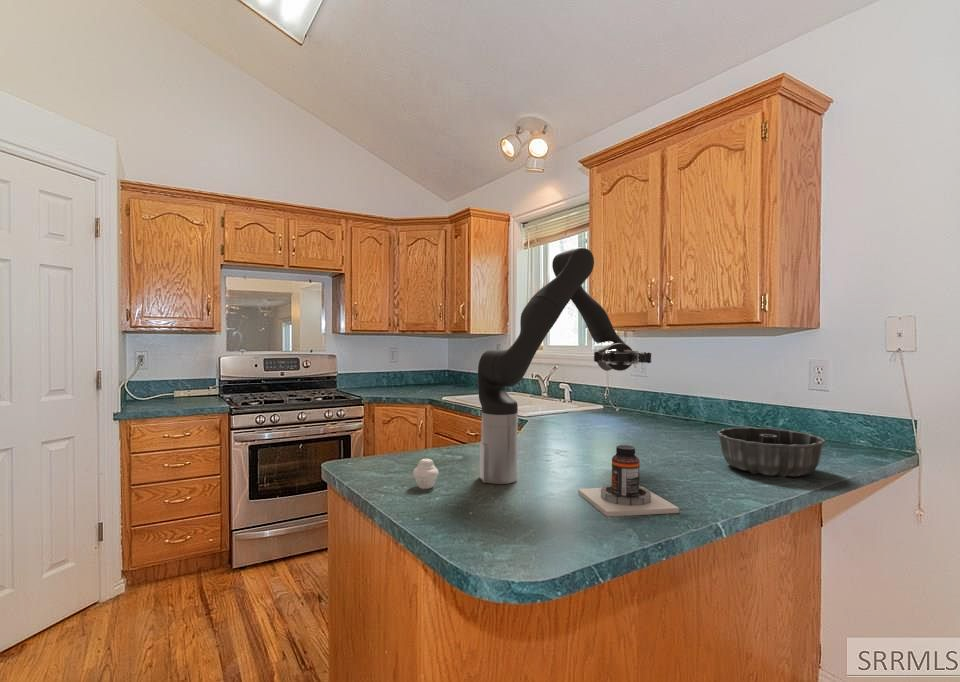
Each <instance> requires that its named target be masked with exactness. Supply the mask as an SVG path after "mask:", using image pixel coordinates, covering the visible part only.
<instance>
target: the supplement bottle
mask: <svg viewBox="0 0 960 682" xmlns="http://www.w3.org/2000/svg"><path fill="white" fill-rule="evenodd" d="M615 452H616V454H615V455H613V456H612V457H611V485H612V494H614V495H617V496H623V497H639V486H640V478H641V477H640V470H641V469H640V459H639V457H638V456H637V455H636V447H635V446H634V445H633V446H632V445H628V444H620V445H616V449H615Z"/></svg>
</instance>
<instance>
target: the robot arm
mask: <svg viewBox="0 0 960 682" xmlns="http://www.w3.org/2000/svg"><path fill="white" fill-rule="evenodd" d="M594 266H595V258H594V255H593V253H592V251H591V250H590V249H588V248H586V247H584V246H583V247H575V248H571V249H568V250H565V251H563V252H560V253H558V254H556V255H555V256H554V258H553V259H552V264H551V267H552V271H553V273H554V276H555V277H554V278H553V279H551V281H549V282H548V283H547V284H544V286H542V287H541V288H540V289H539V290H538V291H537V292H535V294H534V295H533V296H532V297H531V298H530V300H529V301H528V302H527V304H526V305H525V306H524V308H523V309H522V312H521V314H520V322H519V323H520V325H519V326H520V331H519V335H518V337H517V338H516V339H515V341H514V343H512V345H511V346H510V347H509V348H508V349H490V350H486V351H484V352H483V354H482V355H481V356H480V359H479V361H478V366H477V385H478V387H477V388H478V399H479V400H478V401H479V404H480V406H481V440H479V470H478V471H479V475H478V476H479V478H480V480H481V481H482V483H483V484H485V483H487V484H493V485H494V484H497V485H506V484H512V483H516V482H517V479H518V421H519V420H518V419H519V417H518V415H519V414H518V413H519V412H518V409H519V407H518V402H517V401H516V400H515V399H513V398H512V397H510V396H511V395H509V394H508V393H507V390H506V387H510V388H511V387H514V386H516V385H517V384H519V383H520V382H521V381H522V379H523V378H524V376H525V375H526V373H527V371H528V369H529V367H530V365H531V363H532V361H533V359H534V357H535V355H536V353H537V351H538V349H539V348H540V346H541V344H542V343H543V341H544V340H545V338H546V337H547V335H548V333H549V332H550V330H552V328H553V327H554V325H555V324H556V322H557V321H558V319H559V317H560V316H561V314H562V313H563V311H564V309H565V308H566V307H567V305H568V304H569V302H570V301H571V302H572V303H573V305H574V306H575V307H576V309H577V310H578V312H579V314H580V315H581V317H582V319H583V321H584V324H585V325H586V327H587V330H588V332H589V333H590V336H591V338H592V340H593V341H594V343H596V344H597V343H598V344H601V343H606V342H611V344H609V345H607V346H605V347H602V348H600V349H598V351H597V350H596V351H594V352H593V355H594V356H593V362H595V363H597V365H598V366H599V367H600V368H601V370H603V371H607V372H608V371H611V370H614V371H617V372H618V371H619V372H620V371H626V370H629V368H631V366H632V365H638V364H639V363H640V364H644V363H645V364H651V363H652V353H651V352H639V351H638V350H633V349H632V348H631V347H630V346H629V345H628V344H626V343H625V341H624V340H623V339H622V338H621V337H620V336H619V334H618V333H617V332H616V330H615V329H614V326H613V324H612V322H611V320H610V318H609V316H608V313H607V311H606V310H605V308H603V306H602V305H601V304H600V303H599V302H597V301H596V299H595V298H593V297H592V296H590V294H589V293H588V292H587V291H586V290H585V289H584V287H583V286H582V285H583V284H584V283H585V282H586V280H587V279H588V278H589V277H590V276H591V274H592V272H593V269H594Z"/></svg>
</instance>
